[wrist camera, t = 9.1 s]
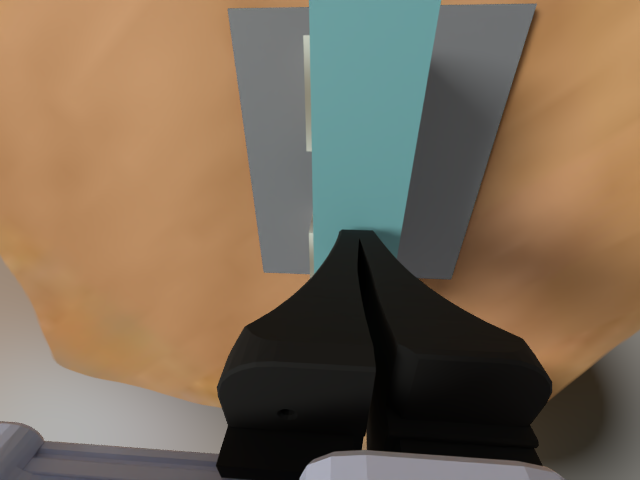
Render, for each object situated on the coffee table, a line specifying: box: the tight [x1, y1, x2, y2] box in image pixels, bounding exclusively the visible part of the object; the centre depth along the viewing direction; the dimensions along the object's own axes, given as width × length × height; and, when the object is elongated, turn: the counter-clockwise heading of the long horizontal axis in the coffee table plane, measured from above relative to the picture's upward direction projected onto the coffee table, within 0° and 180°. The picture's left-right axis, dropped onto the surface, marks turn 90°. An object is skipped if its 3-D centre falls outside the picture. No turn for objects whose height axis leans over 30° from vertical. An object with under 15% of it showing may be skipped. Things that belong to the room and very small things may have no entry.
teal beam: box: [309, 0, 441, 274], centre depth 14 cm, size 16×4×5 cm, turn 0°
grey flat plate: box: [228, 4, 537, 279], centre depth 20 cm, size 18×16×1 cm
